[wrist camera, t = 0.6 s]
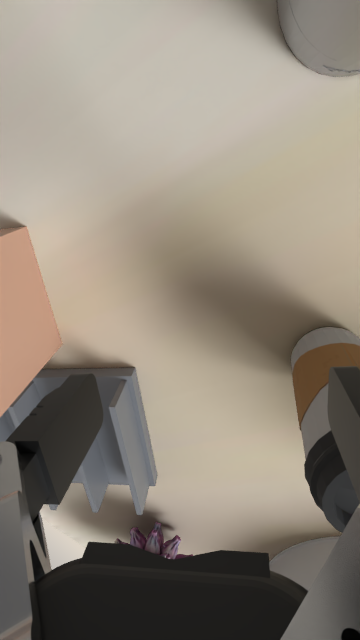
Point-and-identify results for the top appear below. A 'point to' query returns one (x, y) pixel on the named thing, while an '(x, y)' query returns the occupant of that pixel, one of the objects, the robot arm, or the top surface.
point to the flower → (155, 543)
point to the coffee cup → (324, 419)
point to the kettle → (303, 560)
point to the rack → (101, 432)
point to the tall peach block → (22, 316)
